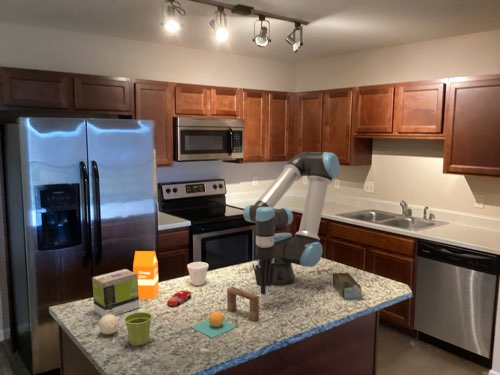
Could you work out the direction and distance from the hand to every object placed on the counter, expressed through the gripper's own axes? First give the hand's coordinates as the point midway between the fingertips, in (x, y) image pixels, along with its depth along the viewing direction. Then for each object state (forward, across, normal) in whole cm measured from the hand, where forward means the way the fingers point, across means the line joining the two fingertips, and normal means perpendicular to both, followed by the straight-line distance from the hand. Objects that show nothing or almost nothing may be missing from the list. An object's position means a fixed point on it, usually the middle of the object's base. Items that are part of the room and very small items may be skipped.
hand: (265, 300), depth 175 cm
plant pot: (+2, -53, +10) cm, 54 cm away
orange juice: (+2, -28, +45) cm, 53 cm away
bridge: (+2, -13, 0) cm, 13 cm away
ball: (-1, -27, 0) cm, 27 cm away
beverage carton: (+2, +36, -16) cm, 40 cm away
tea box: (+2, -45, +40) cm, 60 cm away
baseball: (+2, -57, +23) cm, 62 cm away
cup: (+2, -3, +40) cm, 40 cm away
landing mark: (+2, -28, 0) cm, 28 cm away
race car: (+3, -22, +29) cm, 37 cm away
